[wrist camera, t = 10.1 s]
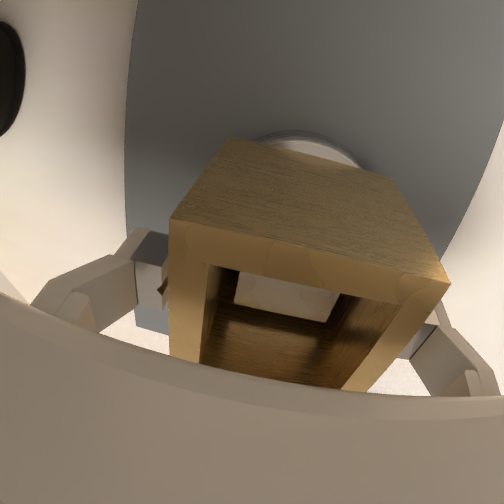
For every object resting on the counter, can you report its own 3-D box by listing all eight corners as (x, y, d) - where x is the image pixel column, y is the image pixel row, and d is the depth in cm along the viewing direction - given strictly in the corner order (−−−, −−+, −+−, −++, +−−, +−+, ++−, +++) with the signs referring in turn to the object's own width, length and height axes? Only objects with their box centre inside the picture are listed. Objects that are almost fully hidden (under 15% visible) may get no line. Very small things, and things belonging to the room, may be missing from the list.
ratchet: (232, 114, 12) (195, 151, 8) (392, 156, 12) (435, 213, 8) (202, 339, 21) (182, 404, 17) (300, 360, 21) (296, 427, 17)
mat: (176, -121, 5) (173, -124, 5) (525, -20, 5) (530, -21, 5) (138, 322, 22) (136, 325, 21) (360, 369, 22) (361, 373, 21)
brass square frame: (229, 136, 11) (169, 218, 6) (391, 178, 11) (450, 283, 6) (210, 267, 14) (171, 378, 10) (339, 296, 14) (347, 411, 10)
